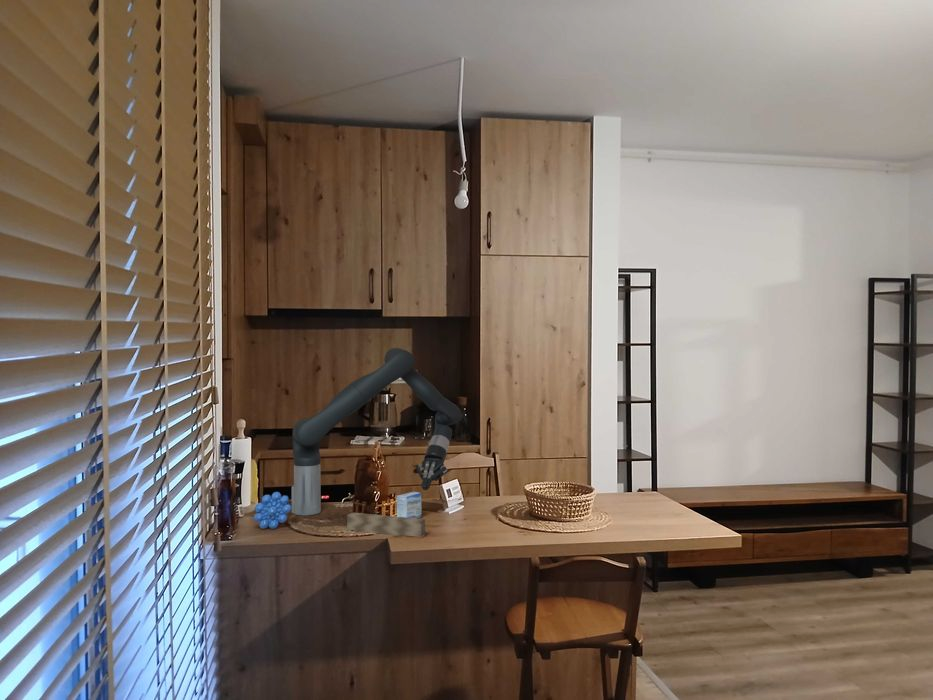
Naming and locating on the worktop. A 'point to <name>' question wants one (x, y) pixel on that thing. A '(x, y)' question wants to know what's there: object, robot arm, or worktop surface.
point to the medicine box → (409, 505)
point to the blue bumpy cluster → (272, 510)
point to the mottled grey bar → (386, 524)
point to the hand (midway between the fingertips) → (424, 488)
